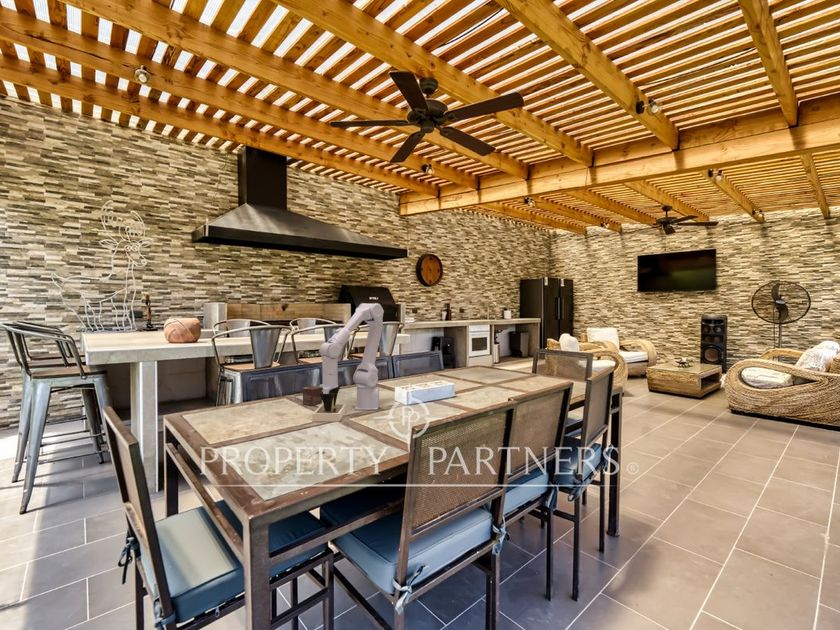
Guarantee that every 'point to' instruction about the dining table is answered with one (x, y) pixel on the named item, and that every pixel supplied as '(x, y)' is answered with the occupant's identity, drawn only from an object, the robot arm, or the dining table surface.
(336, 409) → the socket plate
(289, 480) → the dining table surface
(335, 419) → the tray
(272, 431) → the dining table surface
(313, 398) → the box
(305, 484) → the dining table surface
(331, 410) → the peg
